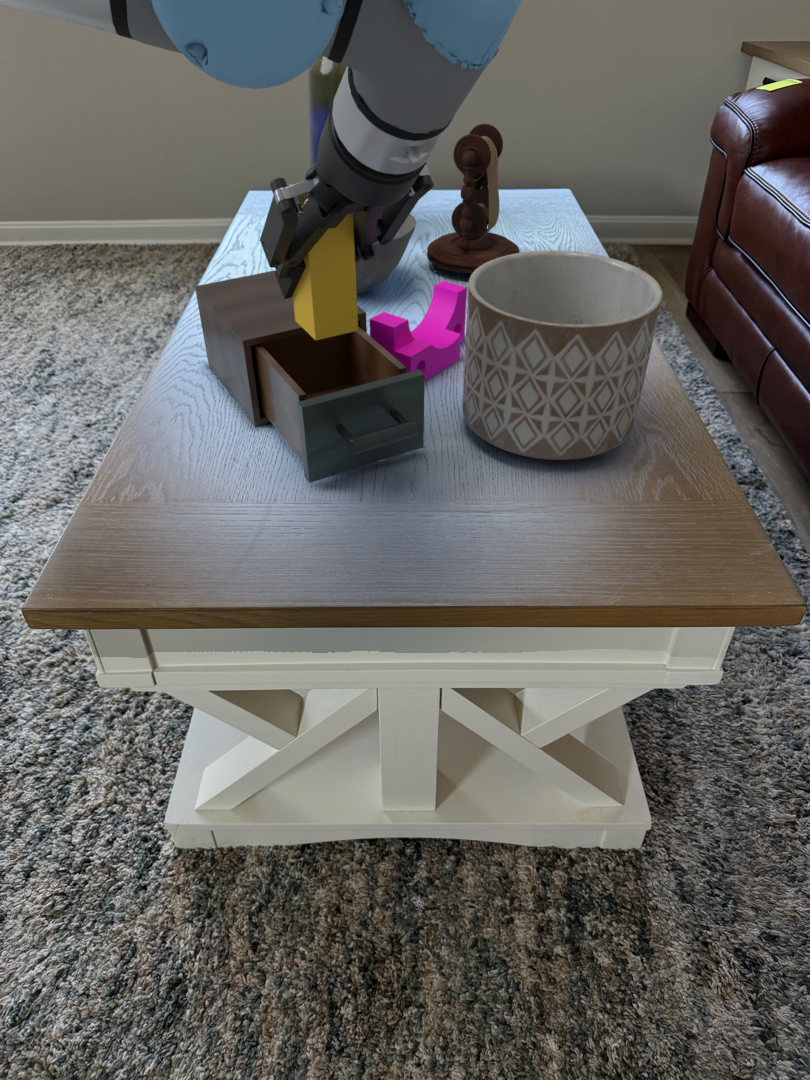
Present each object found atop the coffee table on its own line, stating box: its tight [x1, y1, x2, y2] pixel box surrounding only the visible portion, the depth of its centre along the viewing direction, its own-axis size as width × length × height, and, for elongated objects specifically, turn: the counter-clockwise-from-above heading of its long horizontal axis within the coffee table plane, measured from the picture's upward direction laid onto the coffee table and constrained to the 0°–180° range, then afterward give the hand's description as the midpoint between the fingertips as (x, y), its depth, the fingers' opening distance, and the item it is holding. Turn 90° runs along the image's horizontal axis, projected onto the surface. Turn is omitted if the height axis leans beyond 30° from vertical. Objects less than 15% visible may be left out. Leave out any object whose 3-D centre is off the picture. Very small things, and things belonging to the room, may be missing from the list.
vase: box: [308, 55, 347, 168], centre depth 129 cm, size 14×14×31 cm
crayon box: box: [293, 200, 358, 340], centre depth 73 cm, size 4×5×11 cm
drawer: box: [252, 326, 426, 484], centre depth 83 cm, size 20×13×9 cm
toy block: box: [369, 280, 468, 382], centre depth 99 cm, size 15×6×8 cm, turn 142°
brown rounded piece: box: [426, 123, 521, 274], centre depth 121 cm, size 15×15×20 cm
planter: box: [461, 250, 664, 461], centre depth 85 cm, size 19×19×16 cm
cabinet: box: [194, 269, 368, 427], centre depth 94 cm, size 17×15×11 cm
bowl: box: [355, 213, 417, 294], centre depth 117 cm, size 19×19×10 cm
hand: (308, 279), depth 77 cm, fingers closed on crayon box, 4 cm apart
